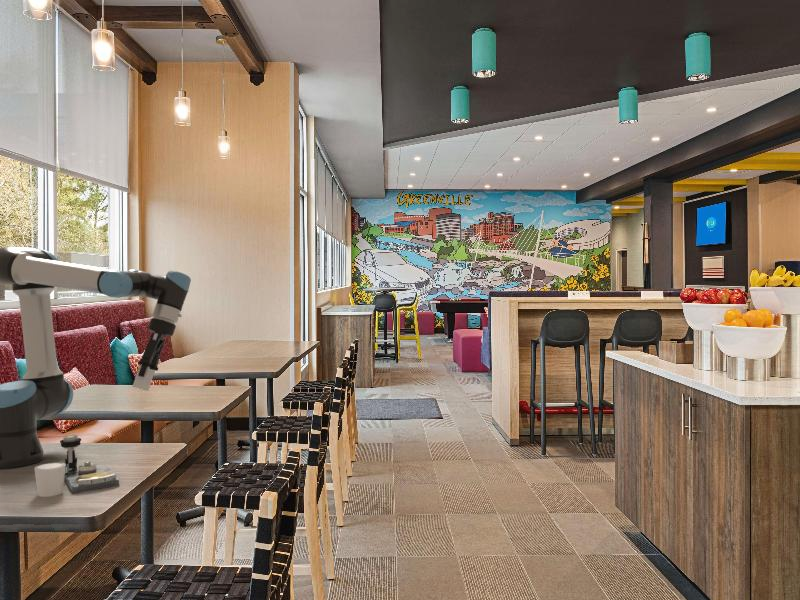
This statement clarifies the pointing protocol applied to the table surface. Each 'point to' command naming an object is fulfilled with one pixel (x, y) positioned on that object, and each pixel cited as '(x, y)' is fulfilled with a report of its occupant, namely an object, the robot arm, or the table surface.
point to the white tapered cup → (50, 479)
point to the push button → (70, 451)
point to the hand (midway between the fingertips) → (140, 389)
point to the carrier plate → (90, 478)
